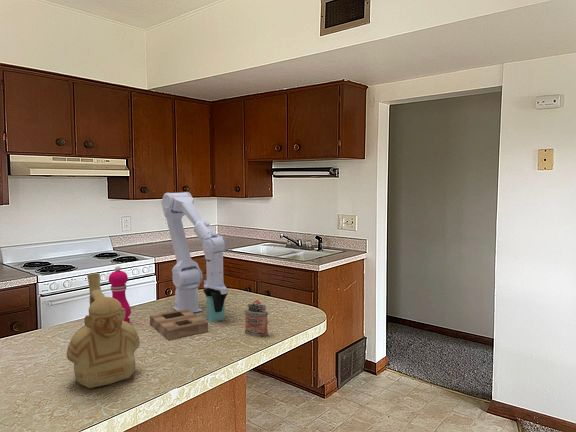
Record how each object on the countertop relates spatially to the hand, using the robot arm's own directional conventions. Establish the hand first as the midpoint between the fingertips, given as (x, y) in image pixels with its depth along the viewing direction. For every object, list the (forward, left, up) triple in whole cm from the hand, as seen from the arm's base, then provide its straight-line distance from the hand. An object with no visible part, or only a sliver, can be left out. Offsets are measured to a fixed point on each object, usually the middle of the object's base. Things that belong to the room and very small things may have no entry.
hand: (215, 310), depth 156 cm
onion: (+11, +10, -3) cm, 15 cm away
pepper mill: (-13, -29, -3) cm, 32 cm away
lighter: (+21, +4, -3) cm, 22 cm away
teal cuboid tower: (0, 0, -3) cm, 3 cm away
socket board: (+1, -14, -3) cm, 14 cm away
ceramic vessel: (+25, -42, -3) cm, 49 cm away
